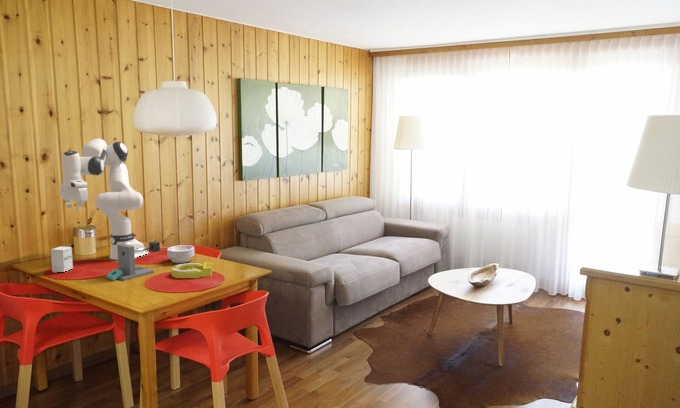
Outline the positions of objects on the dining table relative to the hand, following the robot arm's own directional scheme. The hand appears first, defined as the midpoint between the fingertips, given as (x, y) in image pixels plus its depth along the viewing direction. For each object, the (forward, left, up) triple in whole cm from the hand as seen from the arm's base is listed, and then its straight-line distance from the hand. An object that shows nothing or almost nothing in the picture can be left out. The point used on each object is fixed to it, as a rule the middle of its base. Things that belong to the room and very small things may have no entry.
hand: (74, 208), depth 281 cm
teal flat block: (-7, +26, -31) cm, 41 cm away
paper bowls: (-47, +26, -34) cm, 64 cm away
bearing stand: (-14, +26, -34) cm, 45 cm away
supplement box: (+4, -8, -34) cm, 36 cm away
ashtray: (-33, +51, -35) cm, 70 cm away
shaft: (-21, +26, -25) cm, 42 cm away
